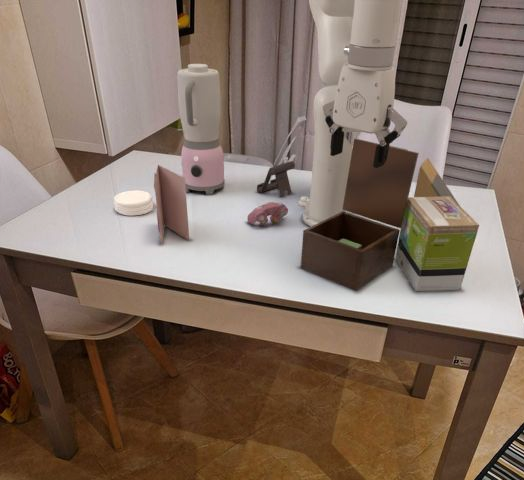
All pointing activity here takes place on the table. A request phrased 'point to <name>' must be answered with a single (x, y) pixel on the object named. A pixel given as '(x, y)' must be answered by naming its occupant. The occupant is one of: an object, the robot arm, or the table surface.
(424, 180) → the sandwich container
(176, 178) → the greeting card
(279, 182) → the tablet stand
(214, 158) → the blender
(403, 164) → the lid
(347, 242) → the green block
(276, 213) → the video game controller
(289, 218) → the table surface
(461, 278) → the tea box
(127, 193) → the coaster
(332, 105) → the robot arm
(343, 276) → the wooden box
